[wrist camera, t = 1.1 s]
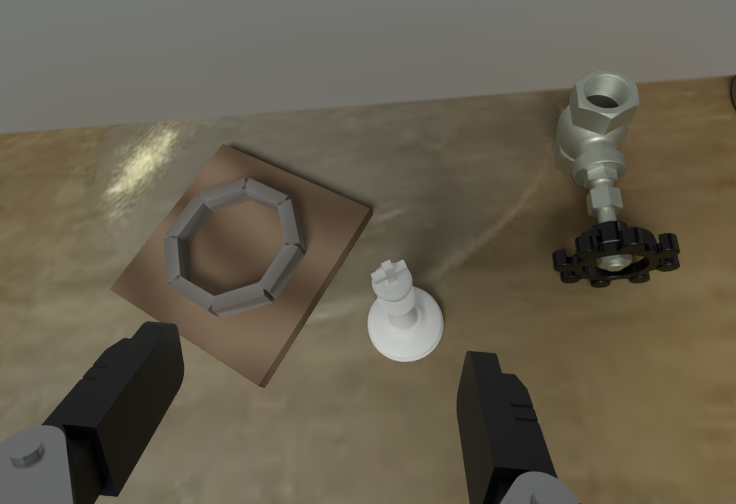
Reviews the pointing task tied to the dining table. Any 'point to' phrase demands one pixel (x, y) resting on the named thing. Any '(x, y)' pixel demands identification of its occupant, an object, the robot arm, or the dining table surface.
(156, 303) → the board
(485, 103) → the dining table surface
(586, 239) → the valve
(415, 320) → the chess piece
